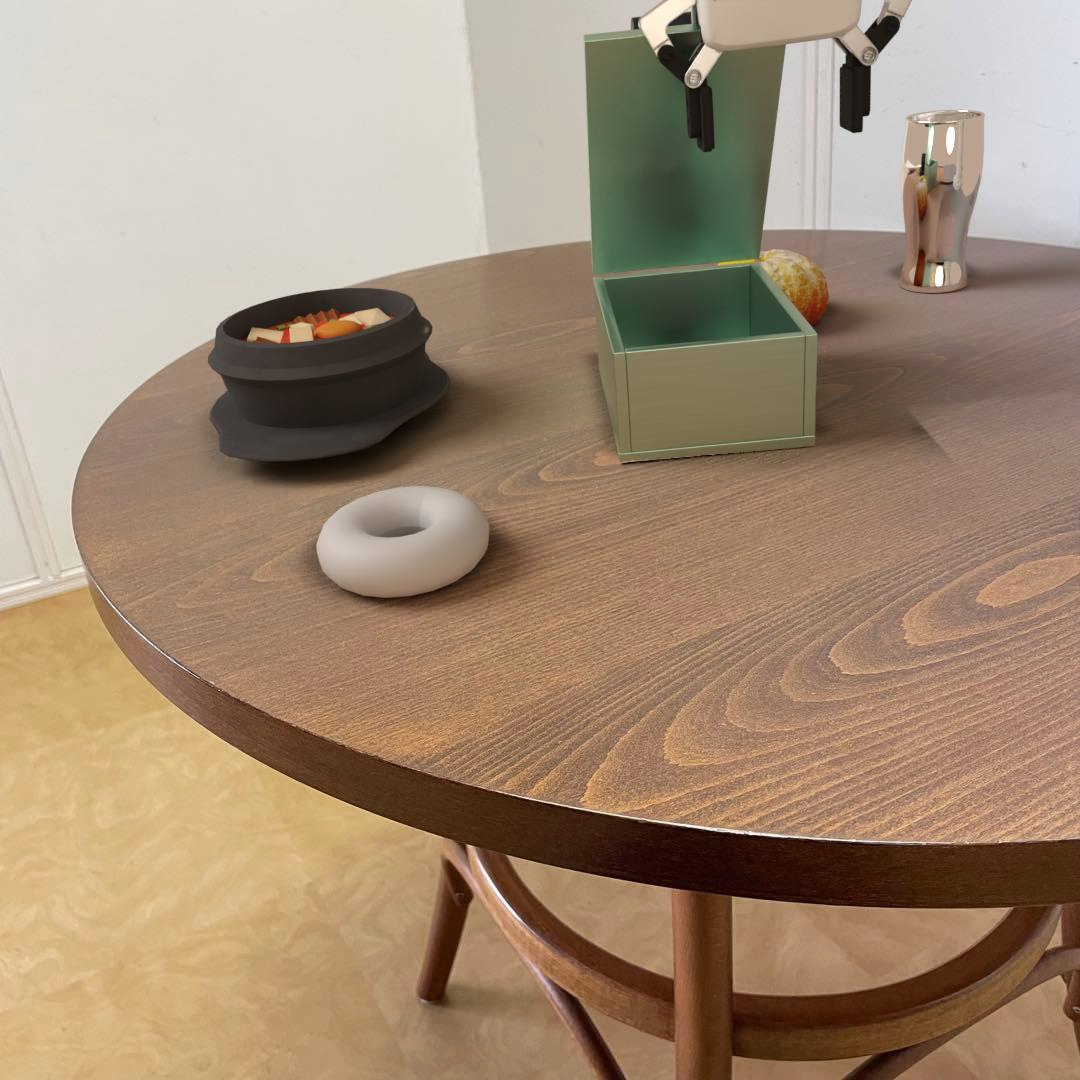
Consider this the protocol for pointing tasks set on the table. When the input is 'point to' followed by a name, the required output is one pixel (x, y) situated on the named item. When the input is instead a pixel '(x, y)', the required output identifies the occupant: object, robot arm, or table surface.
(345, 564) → the donut
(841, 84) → the robot arm
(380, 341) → the casserole
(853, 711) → the table surface
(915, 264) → the beer glass
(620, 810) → the table surface
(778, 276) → the fruit
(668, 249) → the freezer lid
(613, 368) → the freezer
